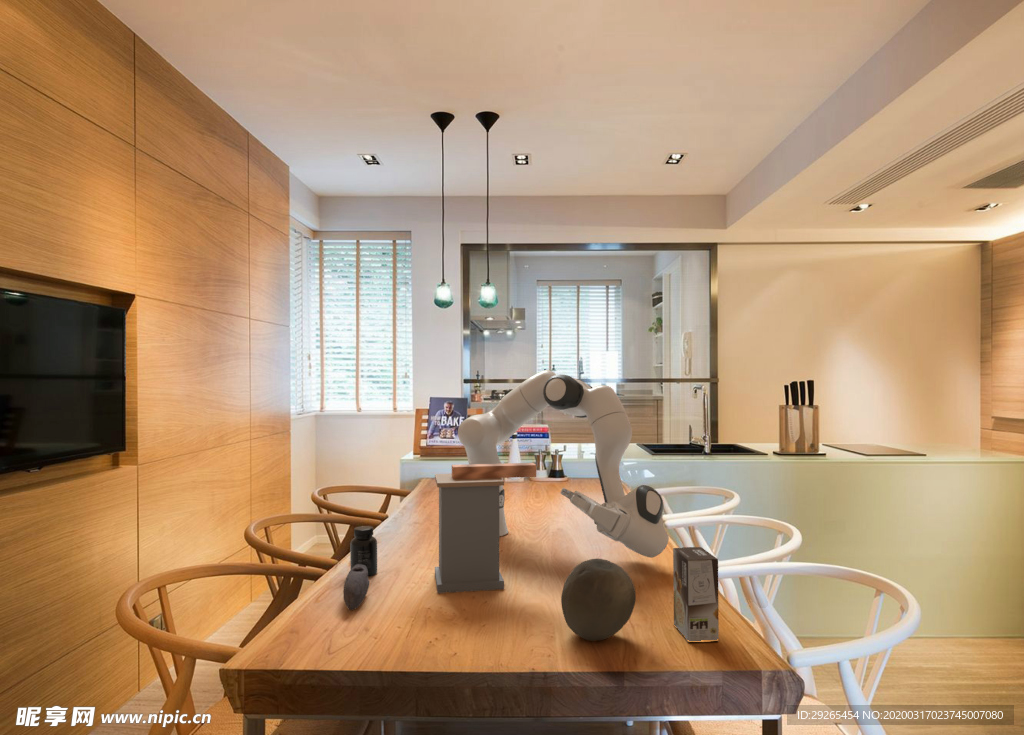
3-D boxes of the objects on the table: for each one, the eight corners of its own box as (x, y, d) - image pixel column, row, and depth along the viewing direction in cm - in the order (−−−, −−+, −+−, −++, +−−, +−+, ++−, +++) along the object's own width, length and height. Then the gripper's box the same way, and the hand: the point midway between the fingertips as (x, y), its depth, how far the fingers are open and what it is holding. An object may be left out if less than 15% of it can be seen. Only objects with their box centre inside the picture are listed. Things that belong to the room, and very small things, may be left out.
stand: (437, 593, 148) (437, 483, 148) (434, 574, 162) (434, 474, 162) (504, 589, 151) (504, 481, 151) (495, 571, 164) (495, 472, 165)
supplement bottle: (382, 571, 164) (382, 525, 165) (368, 579, 158) (368, 532, 158) (359, 568, 167) (359, 523, 167) (344, 576, 160) (345, 529, 160)
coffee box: (720, 642, 120) (720, 559, 121) (688, 643, 120) (687, 560, 120) (702, 623, 130) (701, 546, 130) (671, 624, 129) (671, 546, 129)
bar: (452, 479, 154) (452, 467, 154) (451, 476, 158) (451, 464, 158) (536, 476, 157) (536, 465, 157) (533, 474, 161) (533, 462, 161)
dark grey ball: (588, 659, 113) (588, 576, 114) (548, 631, 126) (548, 556, 126) (649, 644, 120) (649, 565, 120) (605, 618, 132) (605, 547, 133)
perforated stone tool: (361, 615, 135) (361, 583, 135) (336, 616, 134) (336, 583, 134) (372, 591, 150) (372, 562, 150) (349, 592, 149) (349, 562, 149)
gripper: (604, 500, 173) (562, 476, 171) (630, 517, 153) (583, 490, 151) (593, 520, 173) (551, 497, 171) (618, 540, 152) (570, 513, 150)
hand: (566, 494), depth 161 cm, fingers open, 8 cm apart
